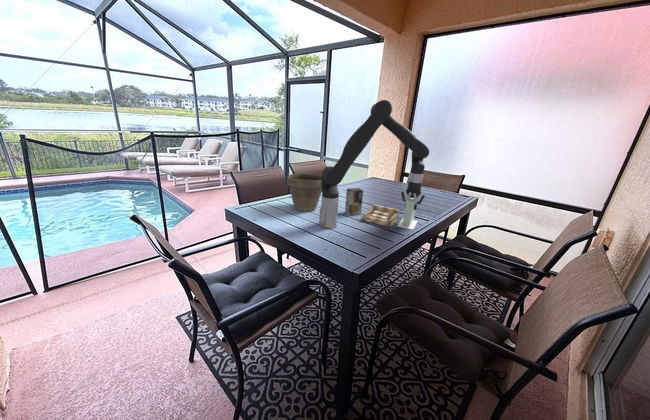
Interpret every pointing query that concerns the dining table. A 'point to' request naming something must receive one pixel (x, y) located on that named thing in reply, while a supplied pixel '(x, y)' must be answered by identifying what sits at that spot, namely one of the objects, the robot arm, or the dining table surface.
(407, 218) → the pale green upright slab
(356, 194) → the coffee box
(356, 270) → the dining table surface
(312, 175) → the plant pot
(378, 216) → the front offcut
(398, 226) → the white flat rectangle
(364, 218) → the rack
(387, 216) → the back offcut
